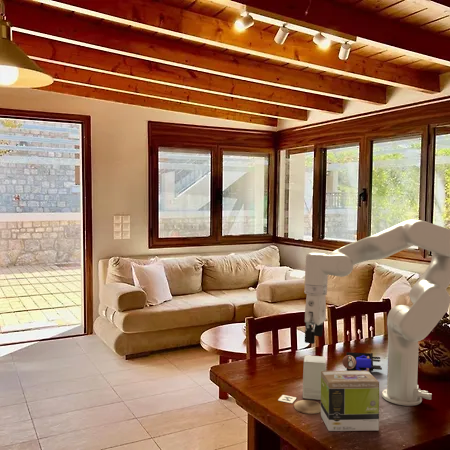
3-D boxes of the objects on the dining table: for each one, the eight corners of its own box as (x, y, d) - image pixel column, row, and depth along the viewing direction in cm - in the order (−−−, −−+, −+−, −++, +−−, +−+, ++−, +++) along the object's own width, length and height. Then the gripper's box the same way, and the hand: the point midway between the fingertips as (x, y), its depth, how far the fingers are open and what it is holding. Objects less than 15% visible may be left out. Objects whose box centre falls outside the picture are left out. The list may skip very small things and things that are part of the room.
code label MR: (296, 398, 161) (296, 397, 161) (292, 403, 157) (292, 403, 157) (282, 395, 163) (282, 394, 163) (277, 400, 159) (277, 400, 159)
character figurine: (383, 376, 183) (342, 374, 185) (379, 368, 190) (341, 366, 192) (383, 357, 182) (343, 355, 184) (380, 349, 189) (341, 347, 191)
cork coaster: (325, 405, 156) (325, 403, 156) (318, 416, 148) (318, 414, 148) (298, 399, 160) (298, 397, 160) (290, 410, 152) (290, 408, 152)
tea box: (367, 416, 148) (369, 369, 147) (379, 432, 138) (380, 381, 137) (319, 416, 148) (320, 369, 147) (327, 432, 138) (328, 381, 137)
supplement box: (324, 400, 159) (325, 363, 158) (302, 398, 160) (303, 361, 160) (324, 392, 166) (325, 356, 165) (303, 390, 167) (303, 354, 167)
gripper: (319, 294, 152) (317, 347, 153) (333, 286, 167) (330, 335, 168) (297, 292, 155) (295, 344, 156) (312, 284, 171) (310, 331, 172)
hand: (313, 339), depth 162 cm, fingers open, 9 cm apart
